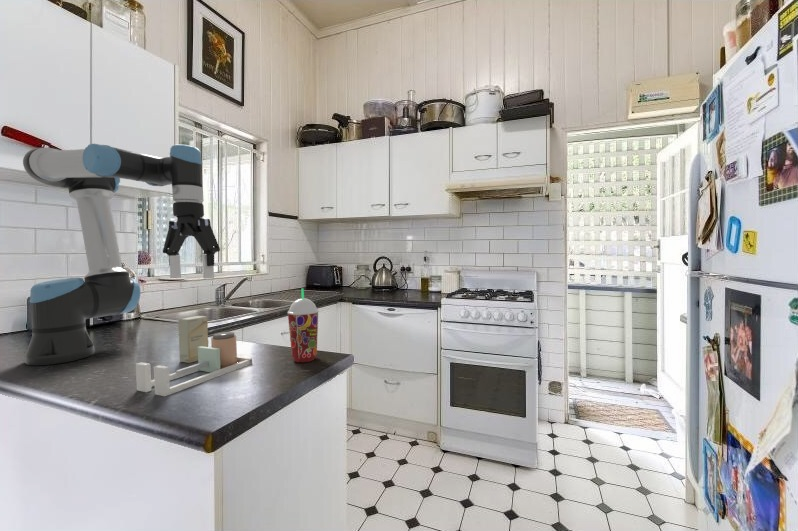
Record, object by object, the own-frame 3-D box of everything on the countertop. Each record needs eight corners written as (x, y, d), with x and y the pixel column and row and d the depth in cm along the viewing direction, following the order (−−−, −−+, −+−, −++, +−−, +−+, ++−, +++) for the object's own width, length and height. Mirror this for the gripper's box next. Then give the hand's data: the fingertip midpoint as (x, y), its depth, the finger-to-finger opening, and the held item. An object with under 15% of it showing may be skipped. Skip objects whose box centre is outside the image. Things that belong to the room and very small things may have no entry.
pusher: (168, 380, 87) (167, 355, 87) (202, 369, 95) (201, 346, 95) (187, 384, 84) (186, 358, 84) (220, 372, 92) (219, 348, 92)
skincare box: (189, 363, 101) (187, 319, 101) (178, 362, 103) (177, 318, 102) (209, 357, 107) (208, 316, 106) (199, 355, 109) (197, 315, 108)
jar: (207, 369, 96) (205, 335, 96) (226, 362, 101) (224, 331, 101) (223, 371, 94) (222, 337, 93) (242, 364, 99) (241, 332, 99)
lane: (136, 390, 82) (135, 363, 81) (226, 360, 104) (226, 338, 104) (164, 396, 78) (163, 368, 78) (252, 363, 100) (251, 341, 100)
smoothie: (315, 364, 99) (313, 289, 98) (284, 364, 99) (282, 290, 98) (322, 355, 107) (320, 286, 106) (294, 355, 107) (292, 287, 106)
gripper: (146, 204, 105) (149, 278, 105) (207, 197, 95) (211, 279, 95) (171, 207, 111) (174, 276, 112) (231, 200, 101) (235, 277, 102)
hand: (191, 278), depth 104 cm, fingers open, 13 cm apart
